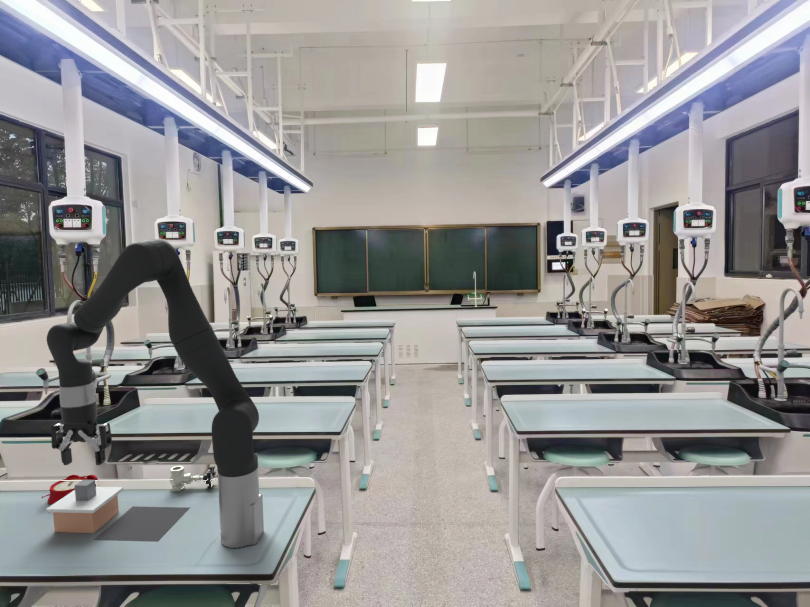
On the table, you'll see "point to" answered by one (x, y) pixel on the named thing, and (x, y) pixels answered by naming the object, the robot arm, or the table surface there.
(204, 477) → the valve
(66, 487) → the alarm clock
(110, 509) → the tub
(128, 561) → the table surface
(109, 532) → the mat
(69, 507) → the lid
